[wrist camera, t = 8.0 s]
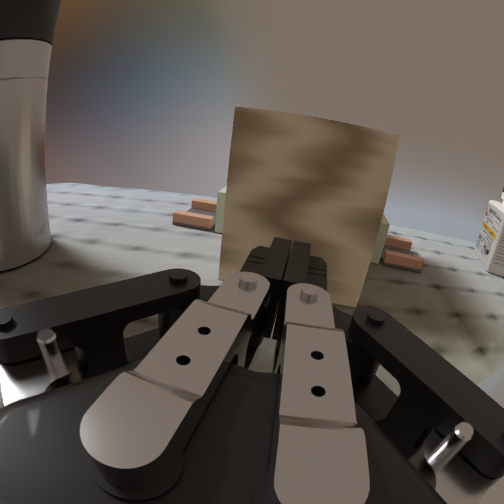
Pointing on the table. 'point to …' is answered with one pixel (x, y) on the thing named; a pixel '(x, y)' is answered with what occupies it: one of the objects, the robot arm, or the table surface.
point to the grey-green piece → (386, 248)
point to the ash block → (307, 192)
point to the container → (492, 238)
